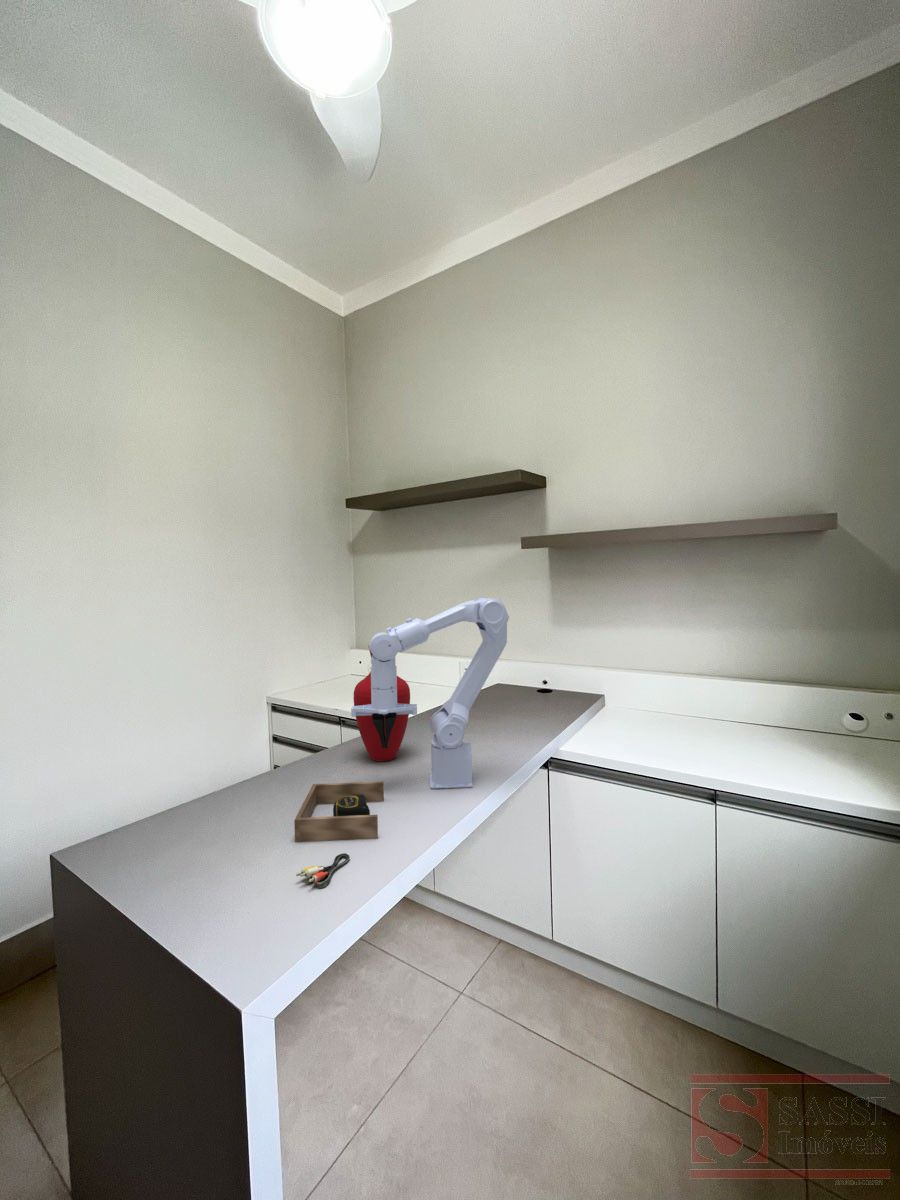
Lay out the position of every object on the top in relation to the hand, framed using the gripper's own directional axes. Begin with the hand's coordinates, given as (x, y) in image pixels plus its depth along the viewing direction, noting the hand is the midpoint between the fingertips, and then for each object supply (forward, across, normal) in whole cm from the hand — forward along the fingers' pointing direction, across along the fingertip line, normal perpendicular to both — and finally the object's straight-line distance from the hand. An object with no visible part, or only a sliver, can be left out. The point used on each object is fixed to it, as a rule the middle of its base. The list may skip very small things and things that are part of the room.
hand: (385, 746), depth 112 cm
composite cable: (+10, -7, -32) cm, 34 cm away
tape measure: (+10, -5, -13) cm, 17 cm away
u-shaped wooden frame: (+9, -7, -14) cm, 18 cm away
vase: (+10, -2, +19) cm, 22 cm away
